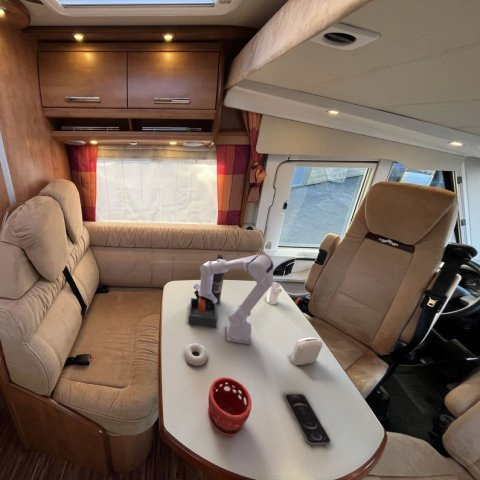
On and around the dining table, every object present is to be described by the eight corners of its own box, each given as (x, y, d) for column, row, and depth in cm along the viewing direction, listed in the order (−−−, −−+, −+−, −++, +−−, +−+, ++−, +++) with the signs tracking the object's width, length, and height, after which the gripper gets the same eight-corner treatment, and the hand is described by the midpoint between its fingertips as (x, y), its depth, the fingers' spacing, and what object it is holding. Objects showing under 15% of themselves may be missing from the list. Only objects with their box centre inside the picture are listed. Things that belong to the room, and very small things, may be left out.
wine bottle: (206, 304, 131) (212, 257, 119) (207, 296, 138) (213, 251, 125) (219, 306, 130) (226, 259, 117) (220, 298, 136) (227, 253, 123)
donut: (182, 365, 97) (207, 369, 95) (183, 359, 96) (207, 363, 94) (185, 345, 106) (207, 349, 104) (185, 339, 105) (208, 343, 103)
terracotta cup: (208, 306, 123) (209, 294, 119) (208, 313, 118) (209, 301, 115) (197, 305, 124) (199, 292, 120) (197, 311, 119) (198, 299, 116)
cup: (262, 299, 136) (266, 283, 131) (270, 296, 138) (275, 281, 134) (271, 306, 131) (276, 290, 126) (280, 303, 133) (285, 287, 128)
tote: (215, 308, 128) (216, 301, 126) (215, 327, 116) (217, 319, 114) (190, 305, 130) (190, 297, 128) (188, 323, 118) (189, 315, 116)
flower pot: (248, 444, 73) (255, 422, 68) (205, 435, 75) (209, 413, 70) (242, 401, 85) (248, 379, 79) (205, 394, 87) (209, 372, 81)
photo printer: (295, 366, 97) (303, 345, 92) (288, 357, 101) (296, 337, 96) (316, 363, 99) (326, 342, 94) (309, 354, 103) (317, 334, 97)
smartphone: (303, 394, 86) (332, 442, 73) (303, 395, 87) (331, 444, 73) (284, 394, 86) (308, 443, 73) (283, 395, 87) (308, 445, 73)
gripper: (190, 279, 118) (188, 301, 123) (211, 295, 107) (207, 317, 113) (200, 275, 121) (198, 296, 127) (221, 290, 110) (218, 312, 116)
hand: (203, 306), depth 120 cm, fingers closed on terracotta cup, 5 cm apart
